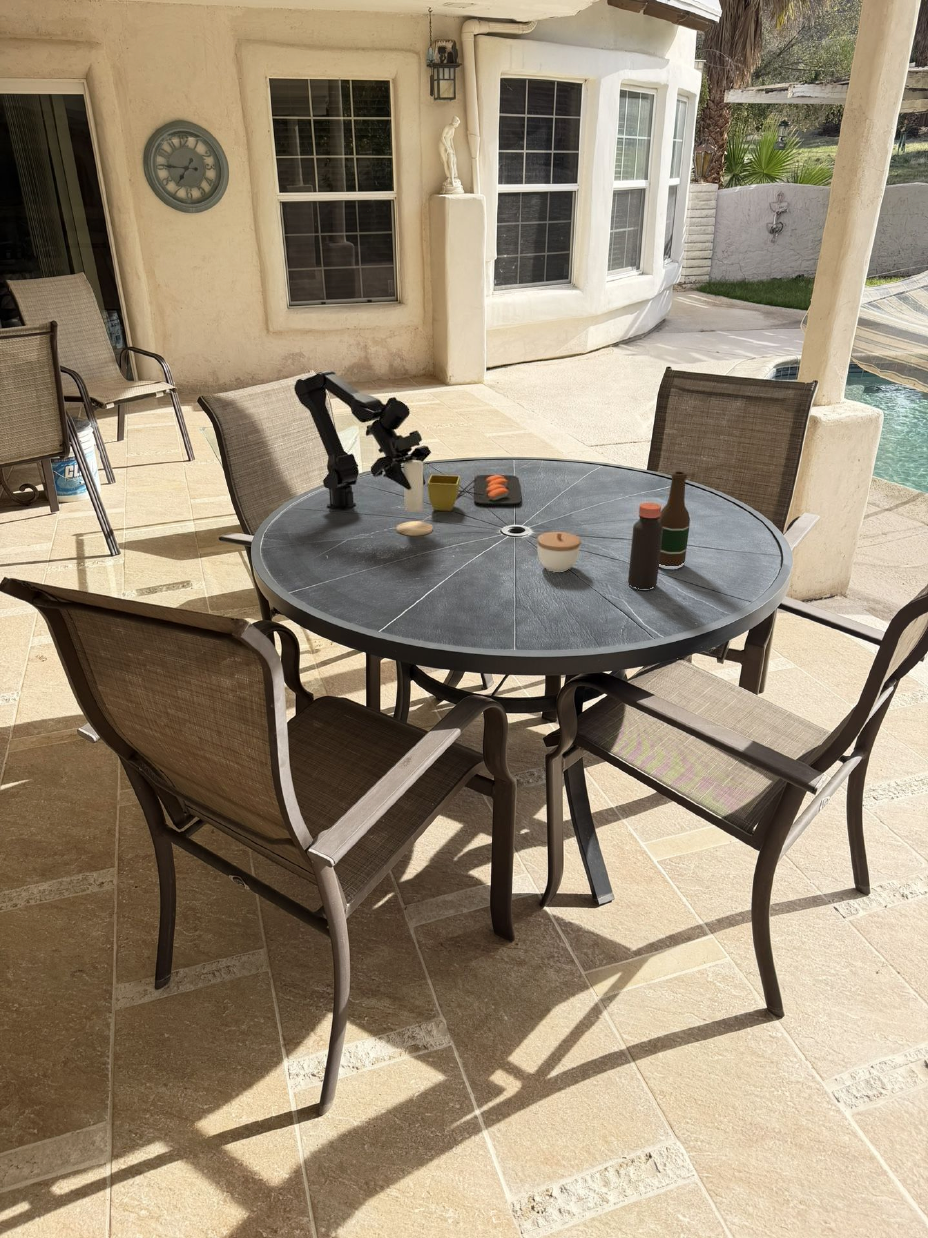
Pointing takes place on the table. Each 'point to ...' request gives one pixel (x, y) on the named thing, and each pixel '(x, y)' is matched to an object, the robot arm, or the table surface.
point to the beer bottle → (675, 523)
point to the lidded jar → (558, 550)
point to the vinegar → (646, 547)
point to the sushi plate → (495, 489)
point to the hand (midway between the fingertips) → (417, 486)
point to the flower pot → (443, 491)
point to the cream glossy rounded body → (413, 486)
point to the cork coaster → (414, 528)
